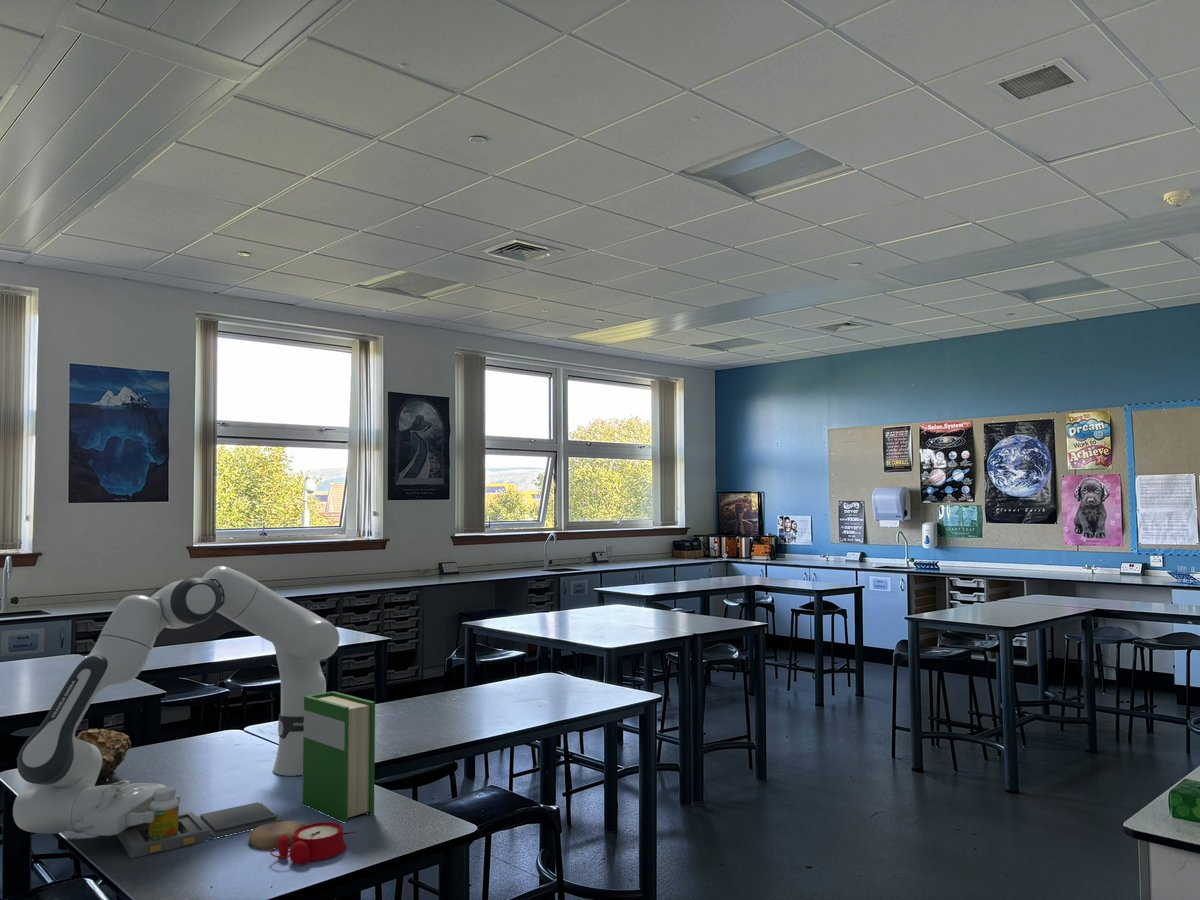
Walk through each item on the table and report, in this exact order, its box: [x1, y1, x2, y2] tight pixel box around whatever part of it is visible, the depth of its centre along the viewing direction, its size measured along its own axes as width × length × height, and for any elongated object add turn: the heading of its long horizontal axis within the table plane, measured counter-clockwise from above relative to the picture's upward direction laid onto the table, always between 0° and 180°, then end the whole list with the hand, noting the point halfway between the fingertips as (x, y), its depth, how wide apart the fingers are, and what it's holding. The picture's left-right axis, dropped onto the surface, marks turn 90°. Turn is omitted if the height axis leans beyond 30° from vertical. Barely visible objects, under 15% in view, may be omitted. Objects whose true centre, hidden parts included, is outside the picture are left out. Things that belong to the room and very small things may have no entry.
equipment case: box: [117, 801, 283, 859], centre depth 178 cm, size 28×15×2 cm, turn 129°
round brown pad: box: [248, 820, 307, 850], centre depth 174 cm, size 11×11×2 cm
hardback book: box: [302, 690, 376, 823], centre depth 191 cm, size 18×7×24 cm, turn 47°
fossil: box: [75, 728, 132, 785], centre depth 214 cm, size 23×14×15 cm, turn 41°
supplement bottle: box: [148, 786, 180, 841], centre depth 174 cm, size 5×5×10 cm
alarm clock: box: [269, 821, 356, 866], centre depth 166 cm, size 10×6×15 cm
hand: (166, 808), depth 175 cm, fingers open, 8 cm apart
